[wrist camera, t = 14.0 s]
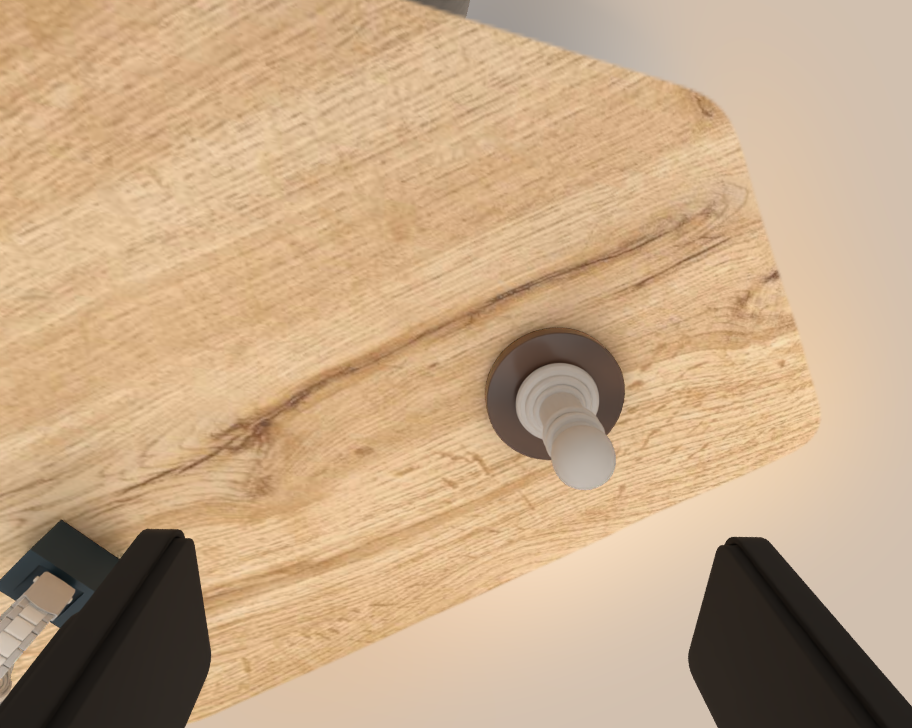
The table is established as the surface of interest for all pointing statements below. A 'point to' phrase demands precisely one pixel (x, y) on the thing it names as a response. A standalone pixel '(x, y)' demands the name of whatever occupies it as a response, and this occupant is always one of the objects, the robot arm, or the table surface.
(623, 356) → the table surface
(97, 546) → the watch
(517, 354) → the walnut chip
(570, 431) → the chess piece
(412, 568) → the table surface
